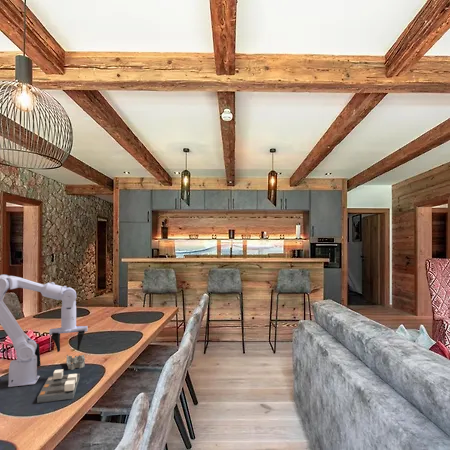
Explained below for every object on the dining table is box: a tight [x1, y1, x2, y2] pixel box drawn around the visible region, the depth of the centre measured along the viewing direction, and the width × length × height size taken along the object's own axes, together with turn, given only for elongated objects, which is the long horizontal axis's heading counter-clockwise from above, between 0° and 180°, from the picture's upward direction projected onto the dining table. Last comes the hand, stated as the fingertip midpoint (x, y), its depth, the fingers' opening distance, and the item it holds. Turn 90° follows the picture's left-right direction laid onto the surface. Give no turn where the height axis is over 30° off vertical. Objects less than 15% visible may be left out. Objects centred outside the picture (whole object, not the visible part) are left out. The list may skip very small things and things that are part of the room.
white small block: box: [52, 368, 64, 379], centre depth 139 cm, size 3×4×2 cm
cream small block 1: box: [67, 373, 78, 383], centre depth 134 cm, size 3×4×2 cm
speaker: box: [35, 343, 42, 367], centre depth 156 cm, size 8×6×10 cm
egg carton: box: [65, 354, 86, 371], centre depth 159 cm, size 11×8×4 cm
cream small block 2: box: [64, 380, 75, 392], centre depth 128 cm, size 3×4×2 cm
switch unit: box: [36, 373, 81, 404], centre depth 133 cm, size 12×19×2 cm, turn 16°
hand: (68, 350), depth 147 cm, fingers open, 7 cm apart
